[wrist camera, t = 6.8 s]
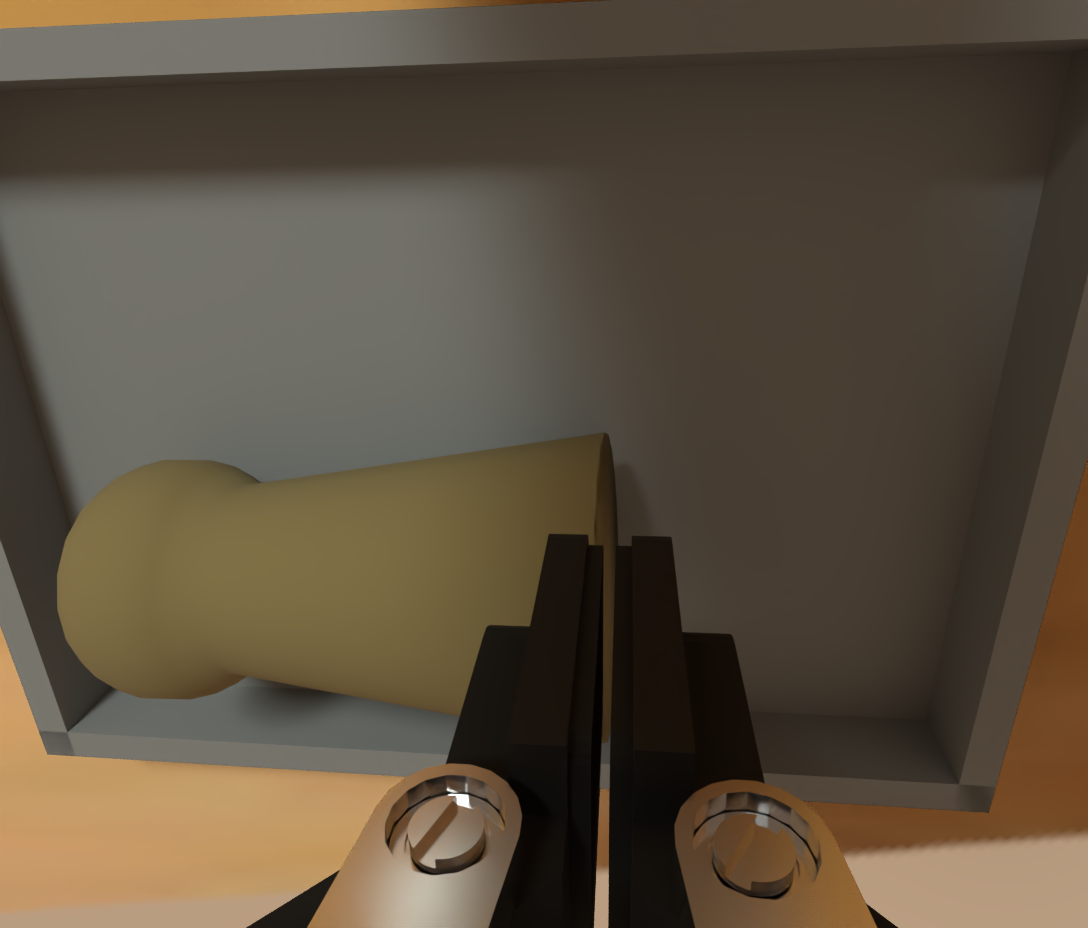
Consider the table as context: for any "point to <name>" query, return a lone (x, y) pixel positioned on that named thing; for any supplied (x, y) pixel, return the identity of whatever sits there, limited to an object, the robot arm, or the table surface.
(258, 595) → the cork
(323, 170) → the tray
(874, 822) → the table surface
